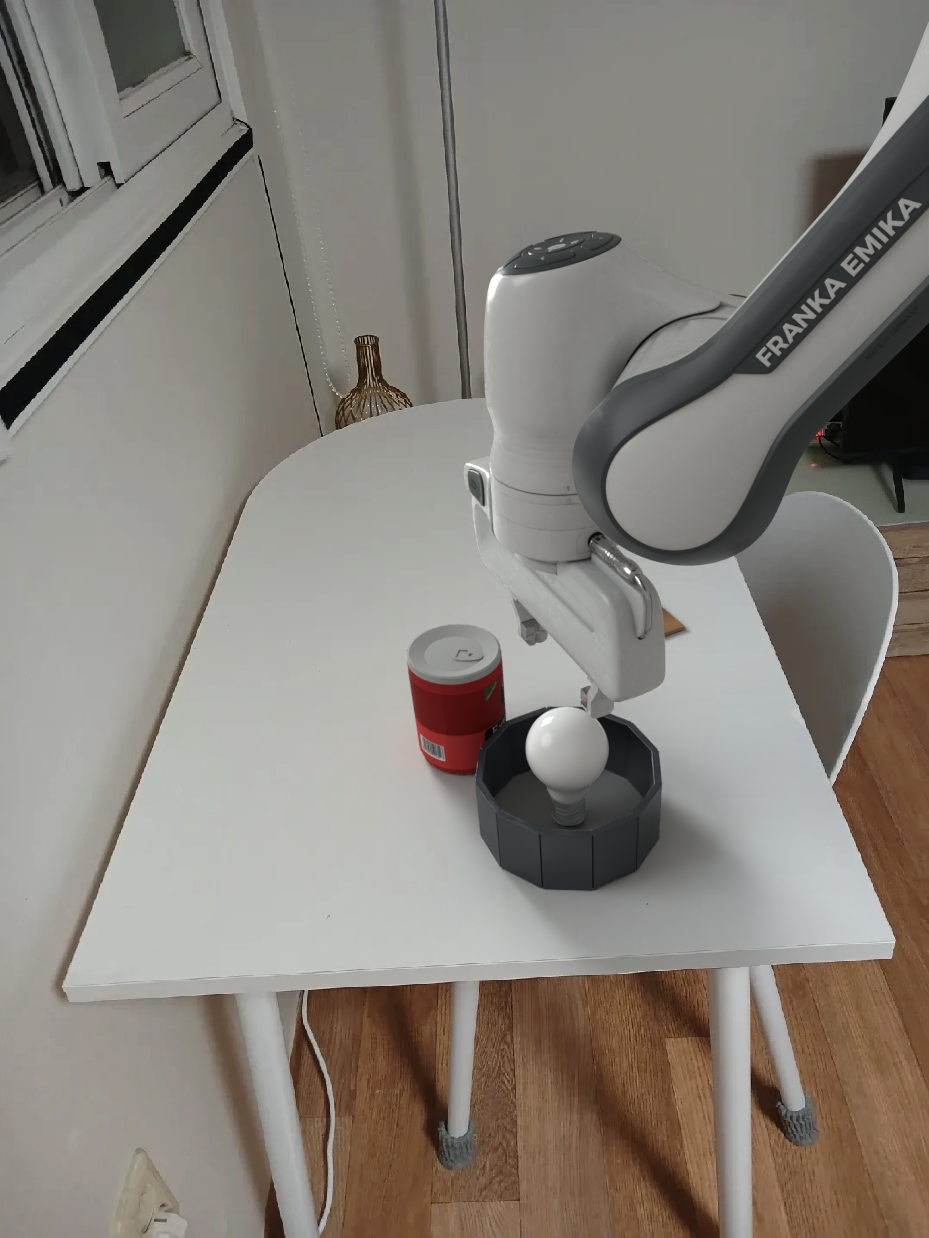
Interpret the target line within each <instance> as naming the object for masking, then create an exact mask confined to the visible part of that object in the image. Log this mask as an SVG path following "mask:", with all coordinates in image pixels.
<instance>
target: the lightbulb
mask: <svg viewBox="0 0 929 1238" xmlns="http://www.w3.org/2000/svg"><path fill="white" fill-rule="evenodd" d="M558 707H559V708H555V709H552V710H549V711H547V712H546V713H544V714H543V715H541V716H540V717H539V718H538V719H537V720H536V721H535V722H534V723H533V725H532V726H531V728H530V730H529V733H528V735H527V739H526V757H527V761H528V764H529V766H530V768H531V770H530V771H532V773H533V775H534V776H535V777H536V778H537V779H538V780H539V781H540V782H541V783H543V785H545V786H546V790H547V792H548V794H549V796H550V798H551V816H552V818H553V820H554V821H555V822H556V823H557V824H558V825H561V826H565V827H574V826H577V825H579V824H581V823H582V822H583V821H584V819H585V818H586V796H587V795H588V793H589V790H590V786H591V785H592V784H593V783H595V781H596V780H597V779H598V778H599V777H600V776H601V775H602V773H603V771H604V770H605V769H604V768H605V766H606V763H607V760H608V755H609V744H608V739H607V735H606V733H605V731H604V729H603V727H602V725H601V724H600V723H599V721H598V720H597V719H593V718H592V717H591V716H590V715H589V714H588V713H587V712H586V711H584V710H581V709H578V708H574V707H575V706H558Z"/></svg>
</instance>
